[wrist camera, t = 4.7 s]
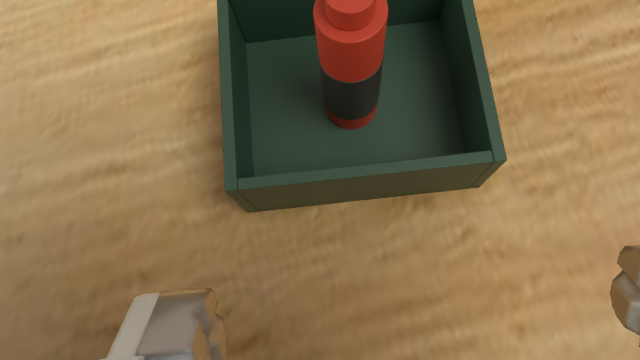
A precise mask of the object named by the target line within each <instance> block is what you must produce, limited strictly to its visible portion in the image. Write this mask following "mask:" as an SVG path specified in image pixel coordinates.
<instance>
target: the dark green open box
mask: <svg viewBox="0 0 640 360" xmlns="http://www.w3.org/2000/svg"><path fill="white" fill-rule="evenodd" d="M315 1H316V0H217V14H218V37H219V60H220V84H221V107H222V131H223V154H224V178H225V192H227V193H228V194H229V195H230V196H231V197H232V198H233V199H234V200H235V201H236V202H237V203H238V204H239V205H241V206H242V207H243V208H244V209H245V210H246V211H247V212H256V211H265V210H275V209H284V208H293V207H302V206H311V205H321V204H330V203H339V202H348V201H357V200H367V199H376V198H385V197H394V196H403V195H413V194H422V193H431V192H440V191H450V190H459V189H468V188H477V187H480V186H481V185H482V184H483V183H484V182H485V181H486V180H487V179H488V178H489V177H490V176H491V175H492V174H493V173H494V172H495V171H496V170H497V169H498V168H499V167H500V166H501V165H502V164H503V163H504V162H505V161H507V158H506V153H505V149H504V144H503V139H502V135H501V130H500V125H499V121H498V116H497V111H496V107H495V102H494V97H493V93H492V88H491V83H490V79H489V74H488V69H487V65H486V60H485V55H484V51H483V46H482V41H481V37H480V32H479V27H478V23H477V18H476V13H475V9H474V4H473V0H386V1H387V4H388V18H387V26H386V34H385V43H384V60H383V68H382V76H381V84H380V92H379V99H378V103H377V109H376V113H375V115H374V117H373V119H372V120H371V121H370V122H369V123H368V124H367V125H365V126H364V127H361V128H358V129H352V130H350V129H343V128H341V127H338V126H337V125H335V124H334V123H333V122H332V121H331V120H330V119H329V117H328V115H327V112H326V107H325V102H324V98H323V91H322V84H321V76H320V69H319V62H318V46H317V39H316V31H315V24H314V16H313V9H314V4H315Z"/></svg>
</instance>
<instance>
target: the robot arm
mask: <svg viewBox="0 0 640 360" xmlns="http://www.w3.org/2000/svg"><path fill="white" fill-rule="evenodd" d="M617 263H618V265H619V266H620V267H621V269H622V270H623V271H622V272H621V273H620V274H618V275H617V276H616V277H615V278H614V279H613V281H612V286H611V291H610V295H611V301H612V307H613V309H614V311H615V313H616V315H617V317H618V319H619V320H620V321H621V323H622V324H623V326H624V327H625V328H627V329H629V330H631V331H632V332H634V333H636V334H638V335H640V245H631V246H625V247H624V248H623V249H622V250H621V251H620V253H619V257H618V261H617ZM217 306H218V300H217V297H216V294H215V291H214V290H213V289H211V288H204V289H191V290H178V291H166V292H159V293H146V294H139V295H138V296H136V297H135V298H134V299H133V301H132V304H131V306H130V308H129V310H128V312H127V314H126V316H125V319H124V321H123V323H122V325H121V327H120V329H119V331H118V334H117V336H116V338H115V340H114V342H113V344H112V346H111V349H110V351H109V353H108V355H107V357H106V359H98V360H226V355H227V334H226V327H225V323H224V320H223V318H222V317H221V316H219V315H218V314H217V313H216V310H217ZM639 347H640V340H639Z"/></svg>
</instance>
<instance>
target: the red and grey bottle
mask: <svg viewBox="0 0 640 360" xmlns="http://www.w3.org/2000/svg"><path fill="white" fill-rule="evenodd" d="M313 16H314V24H315V31H316V39H317V46H318V62H319V69H320V76H321V84H322V91H323V98H324V102H325V107H326V112H327V115H328V117H329V119H330V120H331V121H332V122H333V123H334V124H335V125H337V126H338V127H341V128H343V129H350V130H352V129H358V128H361V127H364V126H365V125H367V124H368V123H369V122H370V121H371V120H372V119H373V117H374V115H375V113H376V109H377V103H378V99H379V92H380V84H381V76H382V68H383V60H384V43H385V34H386V26H387V18H388V4H387V1H386V0H316V1H315V4H314V9H313Z"/></svg>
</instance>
